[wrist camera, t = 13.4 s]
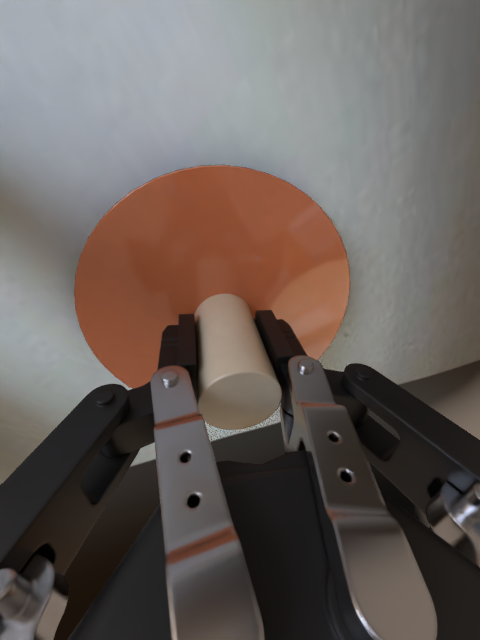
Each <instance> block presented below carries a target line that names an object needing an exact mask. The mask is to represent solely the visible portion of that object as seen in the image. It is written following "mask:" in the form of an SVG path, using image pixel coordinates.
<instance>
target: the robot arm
mask: <svg viewBox="0 0 480 640" xmlns="http://www.w3.org/2000/svg"><path fill="white" fill-rule="evenodd" d="M255 322H256V324H257V327H258V330H259V332H260V335H261V337H262V340H263V342H264V345H265V348H266V350H267V353H268V355H269V358H270V360H271V363H272V366H273V368H274V371H275V373H276V376H277V378H278V381H279V384H280V386H281V389H282V399H281V404H280V418H281V425H282V432H283V439H284V447H285V454H284V455H282V456H279V457H277V458H275V459H273V460H270V461H268V462H266V463H264V464H250V463H241V462H234V461H222V462H216V461H215V458H214V454H213V451H212V447H211V443H210V440H209V436H208V432H207V429H206V425H205V422H204V418H203V416H202V414H200V413H199V409H198V406H197V358H196V336H195V316H194V314H179V321H178V325H168V326H167V327H166V328H165V329H164V331H163V332H162V339H161V347H160V354H159V361H158V369H157V371H156V372H155V373H154V374H153V375H152V377H151V380H150V381H149V382H148V383H146V384H145V385H143V386H140V387H137V388H134V389H131V390H128V391H127V390H126V388H124V387H123V386H121V385H118V384H107V385H103V386H100V387H98V388H96V389H94V390H93V391H91V392H90V393H89V394H88V395H87V396H86V397H85V398H84V399H83V400H82V401H81V402H80V403H79V404H78V405H77V406H76V407H75V408H74V409H73V410H72V412H71V413H70V414H69V415H68V416H67V417H66V418H65V419H64V420H63V421H62V422H61V423H60V424H59V425H58V426H57V427H56V428H55V429H54V430H53V431H52V432H51V433H50V434H49V435H48V437H47V438H46V439H45V440H44V441H43V442H42V443H41V444H40V445H39V446H38V447H37V448H36V449H35V450H34V451H33V452H32V453H31V454H30V455H29V456H28V457H27V458H26V459H25V460H24V461H23V463H22V464H21V465H20V466H19V467H18V468H17V469H16V470H15V471H14V472H13V473H12V474H11V475H10V476H9V477H8V478H7V479H6V480H5V481H4V482H3V483H2V484H1V485H0V640H53V639H54V635H55V632H56V629H57V626H58V624H59V622H60V619H61V617H62V615H63V613H64V610H65V607H66V604H67V599H68V584H67V580H66V578H65V576H64V574H65V572H66V571H67V569H68V567H69V566H70V564H71V562H72V561H73V559H74V557H75V556H76V554H77V553H78V551H79V549H80V548H81V546H82V544H83V543H84V541H85V539H86V538H87V536H88V534H89V533H90V531H91V529H92V527H93V526H94V525H95V523H96V521H97V520H98V518H99V516H100V515H101V513H102V511H103V510H104V508H105V506H106V505H107V503H108V501H109V500H110V498H111V497H112V495H113V493H114V492H115V490H116V488H117V487H118V485H119V483H120V482H121V480H122V478H123V476H124V475H125V473H126V472H127V470H128V468H129V467H130V465H131V464H132V462H133V460H134V459H135V457H136V455H137V454H138V452H139V450H140V448H142V447H144V446H146V445H149V444H151V443H153V442H155V451H156V460H157V472H158V483H159V493H160V505H159V506H158V508H157V509H156V510H155V512H154V513H153V515H152V516H151V518H150V519H149V521H148V522H147V524H146V525H145V526H144V528H143V529H142V531H141V532H140V534H139V536H138V537H137V538H136V540H135V541H134V543H133V544H132V546H131V547H130V549H129V550H128V552H127V553H126V554H125V556H124V557H123V559H122V560H121V562H120V563H119V565H118V566H117V568H116V569H115V571H114V572H113V574H112V575H111V577H110V578H109V580H108V581H107V582H106V584H105V585H104V587H103V588H102V590H101V591H100V593H99V594H98V596H97V597H96V599H95V600H94V602H93V603H92V605H91V606H90V607H89V609H88V611H87V612H86V614H85V615H84V617H83V618H82V619H81V621H80V622H79V624H78V625H77V627H76V628H75V630H74V631H73V633H72V634H71V635H70V637H69V638H68V640H480V440H479V439H477V438H476V437H474V436H473V435H471V434H470V433H468V432H467V431H465V430H464V429H462V428H461V427H459V426H458V425H456V424H455V423H453V422H452V421H450V420H449V419H447V418H446V417H444V416H443V415H441V414H440V413H438V412H437V411H435V410H434V409H432V408H431V407H429V406H428V405H426V404H425V403H423V402H422V401H421V400H419V399H418V398H416V397H414V396H413V395H411V394H410V393H409V392H407V391H406V390H404V389H403V388H401V387H400V386H398V385H397V384H395V383H394V382H392V381H391V380H389V379H388V378H386V377H385V376H383V375H382V374H380V373H379V372H377V371H376V370H374V369H373V368H371V367H369V366H366V365H363V364H357V363H354V364H350V365H348V366H346V368H345V370H344V372H339V371H333V370H327V369H324V368H323V367H322V365H321V363H320V362H319V361H317V360H316V359H314V358H312V357H309V356H307V354H306V352H305V351H304V349H303V347H302V345H301V344H300V342H299V340H298V338H297V337H296V335H295V333H294V332H293V330H292V328H291V326H290V325H289V324H288V323H287V322H285V321H284V320H283V319H276V317H275V315H274V313H273V311H272V310H257V311H256V313H255ZM370 410H371V411H373V412H374V413H375V414H376V415H378V416H379V417H380V418H382V419H383V420H384V421H385V422H387V423H388V424H389V425H390V426H392V427H393V428H394V429H395V430H396V431H397V432H398V434H399V436H400V440H398V439H397V438H396V437H394V436H393V435H392V434H391V433H390V432H388V431H387V430H386V429H384V428H383V427H382V426H381V425H380V424H379V423H377V422H376V421H375V420H373V419H372V418H371V417H370V416H369V415H368V414H369V411H370ZM368 461H369V462H370V463H371V464H373V465H374V466H375V467H376V468H377V469H378V470H379V471H380V472H381V473H382V474H383V475H384V476H385V477H386V478H387V479H388V480H389V481H390V482H391V483H393V484H394V485H395V486H396V487H397V488H398V489H399V490H400V491H401V492H402V493H403V494H404V495H405V496H406V497H407V498H408V499H409V500H411V501H412V502H413V503H414V504H415V505H416V506H417V507H418V508H419V509H420V510H421V511H422V512H423V513H424V514H425V515H426V517H427V520H428V522H429V524H430V528H428V527H426V526H425V525H424V524H423V523H421V522H420V521H419V520H417V519H416V518H415V517H414V516H412V515H411V514H410V513H408V512H407V511H406V510H404V509H403V508H402V507H400V506H399V505H398V504H397V503H395V502H394V501H393V500H391V499H390V498H389V497H387V496H386V495H385V494H383V493H382V492H381V491H380V490H379V487H378V485H377V482H376V480H375V477H374V475H373V472H372V470H371V467H370V465H369V463H368Z"/></svg>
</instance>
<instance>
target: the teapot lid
mask: <svg viewBox="0 0 480 640" xmlns="http://www.w3.org/2000/svg"><path fill="white" fill-rule="evenodd" d="M349 290H350V271H349V264H348V259H347V254H346V250H345V248H344V245H343V242H342V240H341V237H340V235H339V233H338V231H337V230H336V228H335V226H334V224H333V223H332V221H331V220H330V218H329V217H328V216H327V215H326V213H325V212H324V211H323V210H322V208H321V207H320V206H319V205H318V204H317V203H315V202H314V201H313V200H312V199H311V198H310V197H309V196H308V195H307V194H305V193H304V192H302V191H301V190H299V189H298V188H296V187H295V186H293V185H292V184H290V183H288V182H286V181H284V180H282V179H280V178H277V177H275V176H273V175H271V174H268V173H265V172H261V171H257V170H254V169H250V168H246V167H239V166H230V165H203V166H196V167H190V168H185V169H180V170H176V171H173V172H170V173H167V174H165V175H162V176H159V177H156V178H154V179H152V180H150V181H149V182H147V183H145V184H143V185H141V186H139V187H137V188H136V189H134V190H133V191H132V192H130V193H129V194H128V195H126V196H125V197H124V198H122V199H121V200H120V201H118V202H117V203H116V204H115V205H114V206H113V207H112V208H111V209H110V210H109V211H108V212H107V213H106V214H105V216H104V217H103V218H102V219H101V220H100V221H99V223H98V224H97V226H96V227H95V229H94V230H93V232H92V233H91V235H90V236H89V238H88V240H87V242H86V244H85V247H84V249H83V251H82V253H81V255H80V259H79V263H78V267H77V271H76V276H75V288H74V296H75V308H76V313H77V317H78V321H79V325H80V328H81V330H82V332H83V335H84V337H85V339H86V342H87V343H88V345H89V346H90V348H91V350H92V351H93V353H94V354H95V356H96V357H97V358H98V359H99V361H100V362H101V363H102V364H103V365H104V367H105V368H107V369H108V370H109V371H110V372H111V373H112V374H113V375H114V376H115V377H116V378H118V379H119V380H121V381H122V382H123V383H125V384H126V385H127V386H129V387H131V388H133V389H134V388H137V387H140V386H143V385H145V384H146V383H148V382H149V381H150V380H151V377H152V375H153V374H154V373H155V372H156V371H157V369H158V361H159V354H160V347H161V339H162V332H163V331H164V329H165V328H166V327H167V326H168V325H178V321H179V314H194V316H195V336H196V358H197V406H198V409H199V413H200V414H202V416H203V418H204V421H206V422H207V423H208V424H210V425H212V426H214V427H217V428H221V429H228V430H236V429H244V428H248V427H251V426H254V425H257V424H259V423H261V422H263V421H264V420H266V419H267V418H269V417H270V416H271V415H272V414H273V413H274V412H275V411H276V410H277V408H278V407H279V405H280V403H281V399H282V389H281V386H280V384H279V381H278V378H277V376H276V373H275V371H274V368H273V366H272V363H271V360H270V358H269V355H268V353H267V350H266V348H265V345H264V342H263V340H262V337H261V335H260V332H259V330H258V327H257V324H256V322H255V313H256V311H257V310H272V311H273V313H274V315H275V317H276V319H283V320H284V321H285V322H287V323H288V324H289V325H290V326H291V328H292V330H293V332H294V333H295V335H296V337H297V338H298V340H299V342H300V344H301V345H302V347H303V349H304V351H305V352H306V354H307V356H309V357H312V358H314V359H316V360H318V359H319V358H320V357H321V356H322V354H323V353H324V352H325V351H326V350H327V348H328V347H329V345H330V344H331V342H332V341H333V339H334V338H335V336H336V334H337V332H338V330H339V328H340V326H341V323H342V320H343V318H344V315H345V312H346V308H347V304H348V299H349Z"/></svg>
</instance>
